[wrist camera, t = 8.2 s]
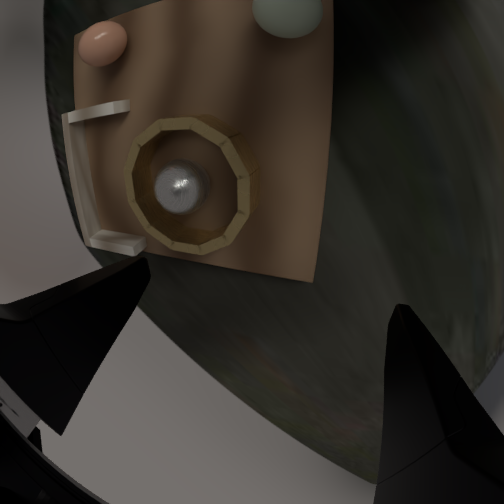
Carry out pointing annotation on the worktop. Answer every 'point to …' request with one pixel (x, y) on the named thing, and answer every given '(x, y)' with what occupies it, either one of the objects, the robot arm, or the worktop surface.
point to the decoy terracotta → (102, 43)
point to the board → (198, 147)
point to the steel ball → (182, 186)
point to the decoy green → (288, 16)
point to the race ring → (155, 214)
